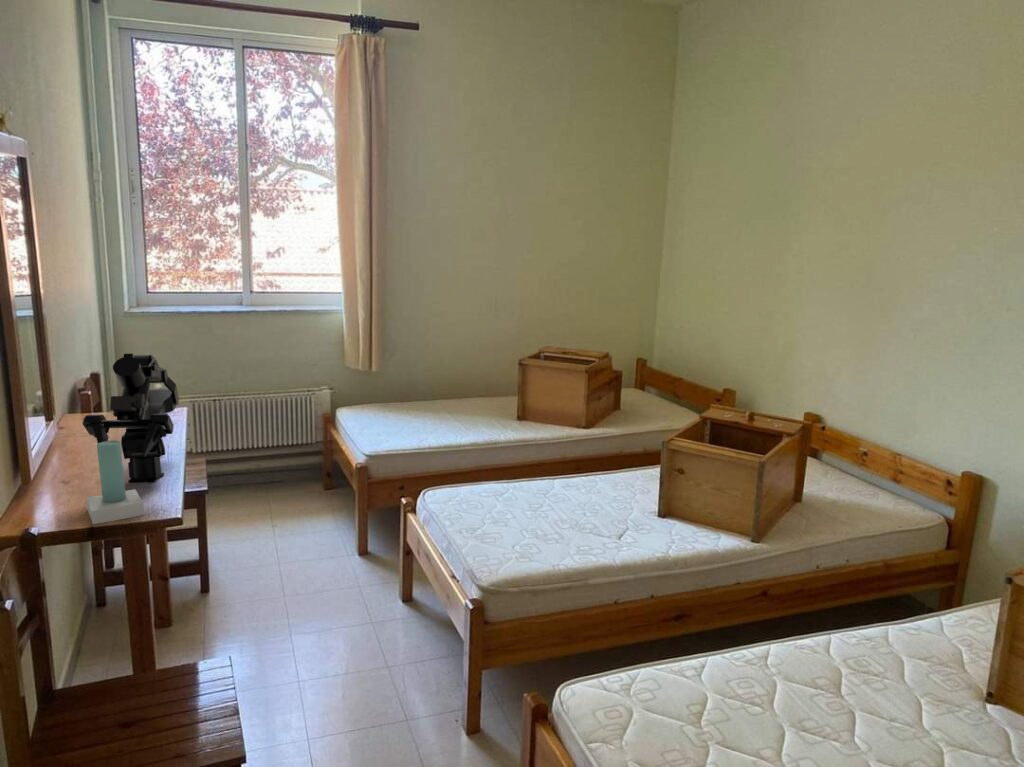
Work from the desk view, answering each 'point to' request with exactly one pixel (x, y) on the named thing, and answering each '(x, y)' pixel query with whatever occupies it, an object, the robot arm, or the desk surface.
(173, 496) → the desk surface
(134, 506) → the plinth
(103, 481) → the pillar
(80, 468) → the desk surface
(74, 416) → the desk surface
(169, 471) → the desk surface
